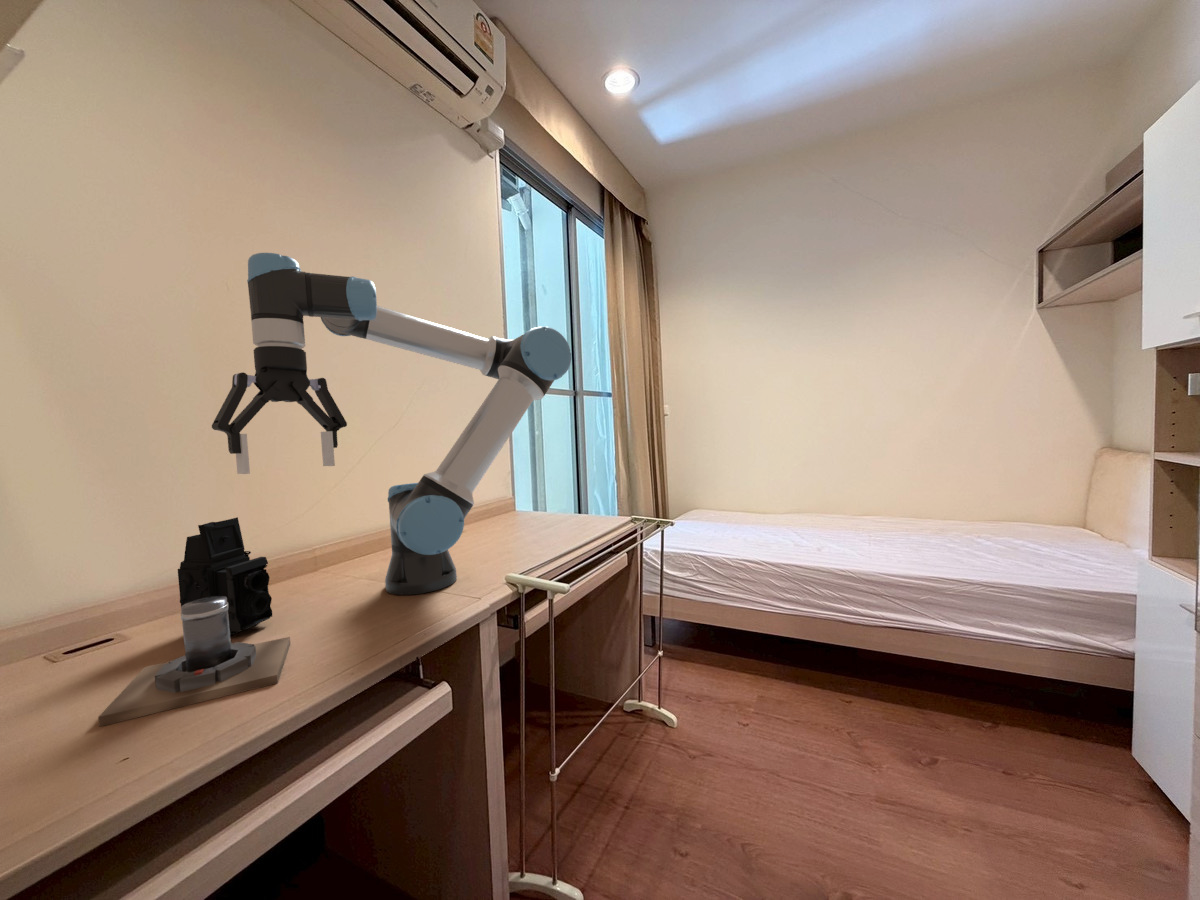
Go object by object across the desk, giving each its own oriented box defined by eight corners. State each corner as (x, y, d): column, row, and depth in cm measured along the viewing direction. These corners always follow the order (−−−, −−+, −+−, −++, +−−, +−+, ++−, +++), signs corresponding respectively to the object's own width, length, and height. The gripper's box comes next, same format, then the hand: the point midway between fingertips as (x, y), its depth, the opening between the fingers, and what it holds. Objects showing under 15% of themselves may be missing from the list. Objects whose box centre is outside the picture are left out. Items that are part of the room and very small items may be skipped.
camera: (237, 644, 78) (228, 526, 77) (173, 640, 80) (163, 526, 79) (289, 620, 87) (280, 514, 86) (230, 617, 90) (221, 515, 89)
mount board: (290, 643, 77) (289, 625, 77) (277, 683, 65) (275, 661, 64) (145, 674, 69) (143, 654, 68) (99, 726, 56) (96, 701, 56)
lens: (240, 665, 68) (234, 598, 67) (195, 683, 63) (189, 611, 63) (222, 657, 70) (217, 593, 70) (178, 674, 66) (172, 605, 65)
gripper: (340, 358, 93) (347, 463, 94) (179, 341, 72) (190, 477, 73) (361, 353, 89) (369, 463, 90) (197, 334, 68) (209, 478, 69)
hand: (289, 469), depth 81 cm, fingers open, 13 cm apart
